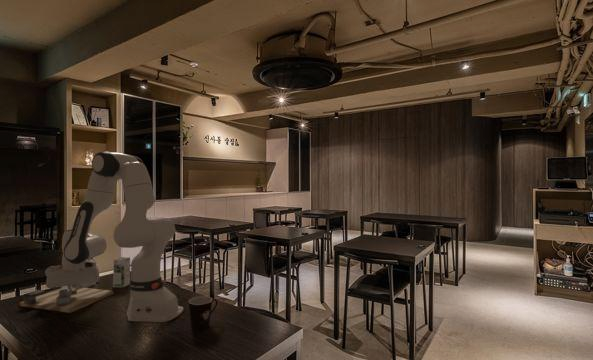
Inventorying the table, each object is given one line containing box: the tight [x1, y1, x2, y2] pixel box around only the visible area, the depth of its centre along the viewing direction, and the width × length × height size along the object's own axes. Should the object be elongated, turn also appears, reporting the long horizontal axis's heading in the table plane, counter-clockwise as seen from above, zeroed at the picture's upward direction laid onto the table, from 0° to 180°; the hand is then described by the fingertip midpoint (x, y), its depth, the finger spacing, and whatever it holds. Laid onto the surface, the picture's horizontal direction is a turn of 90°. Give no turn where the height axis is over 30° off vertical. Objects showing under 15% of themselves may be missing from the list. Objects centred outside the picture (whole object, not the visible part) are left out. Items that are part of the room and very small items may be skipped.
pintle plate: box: [19, 286, 114, 314], centre depth 152 cm, size 27×24×7 cm
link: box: [56, 286, 72, 305], centre depth 150 cm, size 20×5×2 cm, turn 30°
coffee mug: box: [188, 295, 218, 332], centre depth 127 cm, size 12×9×10 cm
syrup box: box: [112, 256, 131, 289], centre depth 172 cm, size 6×6×14 cm
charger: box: [72, 275, 101, 288], centre depth 173 cm, size 5×9×15 cm
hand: (73, 294), depth 151 cm, fingers closed
